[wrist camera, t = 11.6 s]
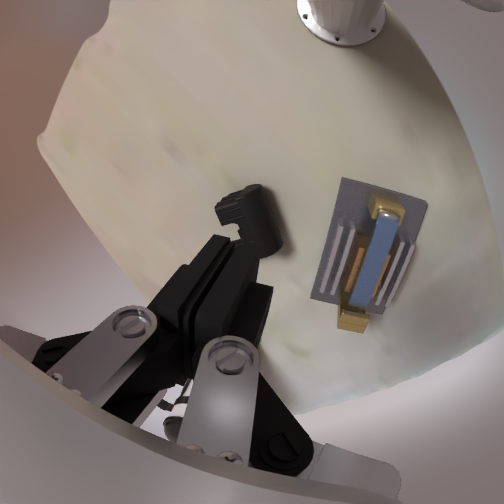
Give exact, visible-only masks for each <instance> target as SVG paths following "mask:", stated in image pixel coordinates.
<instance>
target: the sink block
mask: <svg viewBox="0 0 504 504" xmlns="http://www.w3.org/2000/svg"><path fill="white" fill-rule="evenodd" d="M427 205H428V203H427V202H426V201H425V200H422V199H419V198H415V197H412V196H409V195H406V194H402V193H399V192H396V191H392V190H389V189H385V188H382V187H378V186H375V185H371V184H367V183H364V182H360V181H356V180H352V179H348V178H344V177H342V178H341V183H340V187H339V191H338V195H337V200H336V204H335V208H334V212H333V216H332V220H331V224H330V228H329V231H328V235H327V239H326V243H325V246H324V250H323V254H322V257H321V261H320V264H319V268H318V271H317V275H316V278H315V282H314V285H313V288H312V292H311V297H310V299H314V300H319V301H323V302H327V303H332V304H336V305H338V320H337V328H339V329H343V330H348V331H353V332H358V333H364V331H365V329H366V326H367V324H368V322H369V320H370V317H369V315H366V314H365V311H368V312H373V313H377V314H383V312H384V310H385V308H386V307H389V305H390V303H391V300H392V298H393V296H394V294H395V292H396V290H397V288H398V286H399V283H400V281H401V279H402V277H403V274H404V272H405V270H406V267H407V265H408V263H409V260H410V258H411V256H412V253H413V251H414V248H415V244H414V241H415V238H416V236H417V233H418V230H419V228H420V225H421V222H422V219H423V216H424V213H425V211H426V208H427ZM379 210H383V211H387V212H390V213H394V214H397V215H400V216H401V219H400V222H399V225H398V228H397V231H396V233H395V236H394V239H393V242H392V245H391V248H390V251H389V253H388V256H387V259H386V261H385V264H384V267H383V269H382V272H381V274H380V277H379V279H378V282H377V284H376V287H375V289H374V292H373V294H372V296H371V299H370V301H369V303H368V306H367V308H366V309H362V308H358V307H353V306H349V305H348V301H349V299H350V296H351V293H352V291H353V288H354V285H355V283H356V280H357V277H358V274H359V272H360V269H361V266H362V263H363V260H364V257H365V255H366V252H367V249H368V246H369V243H370V239H371V236H372V233H373V230H374V227H375V224H376V220H377V217H378V213H379Z"/></svg>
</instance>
